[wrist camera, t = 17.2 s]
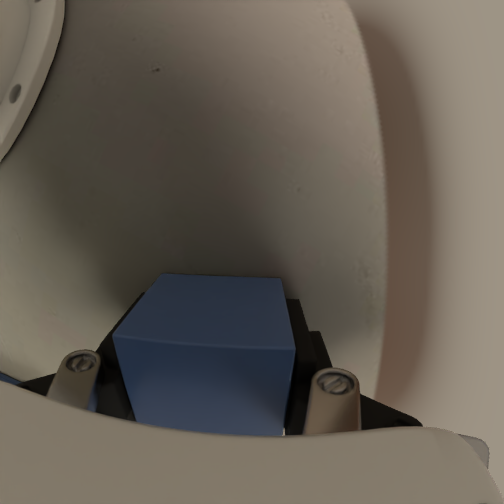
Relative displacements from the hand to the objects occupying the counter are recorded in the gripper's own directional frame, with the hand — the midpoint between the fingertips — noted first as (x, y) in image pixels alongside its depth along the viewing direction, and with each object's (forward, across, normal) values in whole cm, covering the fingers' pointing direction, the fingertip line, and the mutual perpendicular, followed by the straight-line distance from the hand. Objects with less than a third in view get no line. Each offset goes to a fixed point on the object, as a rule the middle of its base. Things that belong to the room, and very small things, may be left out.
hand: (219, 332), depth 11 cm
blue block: (0, 0, 0) cm, 0 cm away
